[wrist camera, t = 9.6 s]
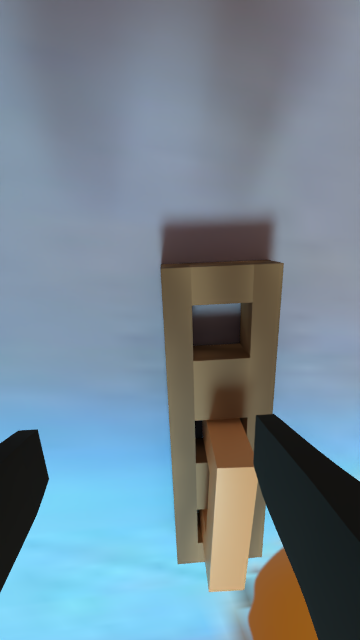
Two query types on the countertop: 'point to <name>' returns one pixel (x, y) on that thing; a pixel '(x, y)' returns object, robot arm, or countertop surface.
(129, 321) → the countertop surface
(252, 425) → the wooden board with holes
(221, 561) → the tan rectangular block
